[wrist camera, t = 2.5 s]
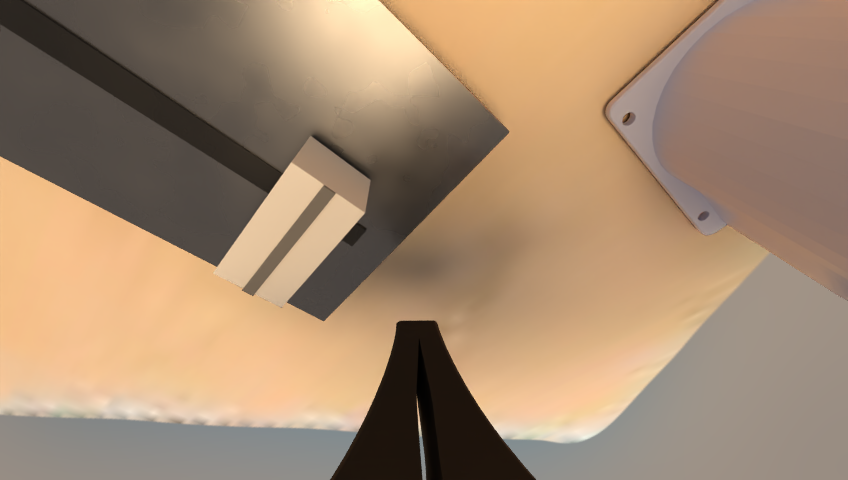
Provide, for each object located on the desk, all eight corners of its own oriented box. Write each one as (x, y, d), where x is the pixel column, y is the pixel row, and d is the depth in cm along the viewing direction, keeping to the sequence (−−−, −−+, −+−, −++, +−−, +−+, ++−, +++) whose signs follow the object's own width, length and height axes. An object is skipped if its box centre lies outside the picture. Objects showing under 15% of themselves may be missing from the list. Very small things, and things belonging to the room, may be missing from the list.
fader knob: (370, 180, 13) (364, 214, 11) (298, 265, 15) (280, 309, 12) (310, 135, 12) (290, 163, 10) (241, 233, 14) (211, 275, 11)
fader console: (496, 118, 14) (510, 132, 12) (330, 293, 19) (323, 322, 17) (-100, -484, 7) (-266, -648, 5) (-137, 36, 12) (-234, 40, 10)
